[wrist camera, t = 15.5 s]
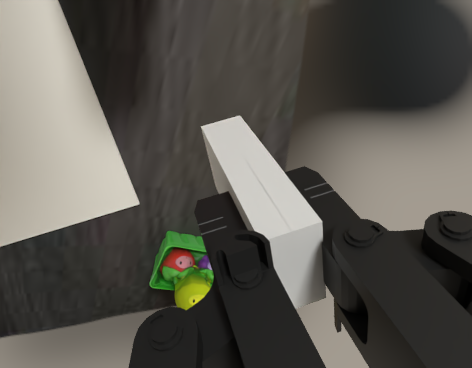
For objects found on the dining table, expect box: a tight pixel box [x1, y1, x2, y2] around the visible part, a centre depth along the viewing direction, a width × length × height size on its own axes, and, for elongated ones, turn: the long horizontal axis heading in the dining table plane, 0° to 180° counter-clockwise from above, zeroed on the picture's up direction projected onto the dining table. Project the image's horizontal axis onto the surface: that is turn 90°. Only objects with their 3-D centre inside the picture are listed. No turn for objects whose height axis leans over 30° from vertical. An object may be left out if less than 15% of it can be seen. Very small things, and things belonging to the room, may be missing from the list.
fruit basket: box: [150, 231, 214, 310], centre depth 52 cm, size 11×9×11 cm
